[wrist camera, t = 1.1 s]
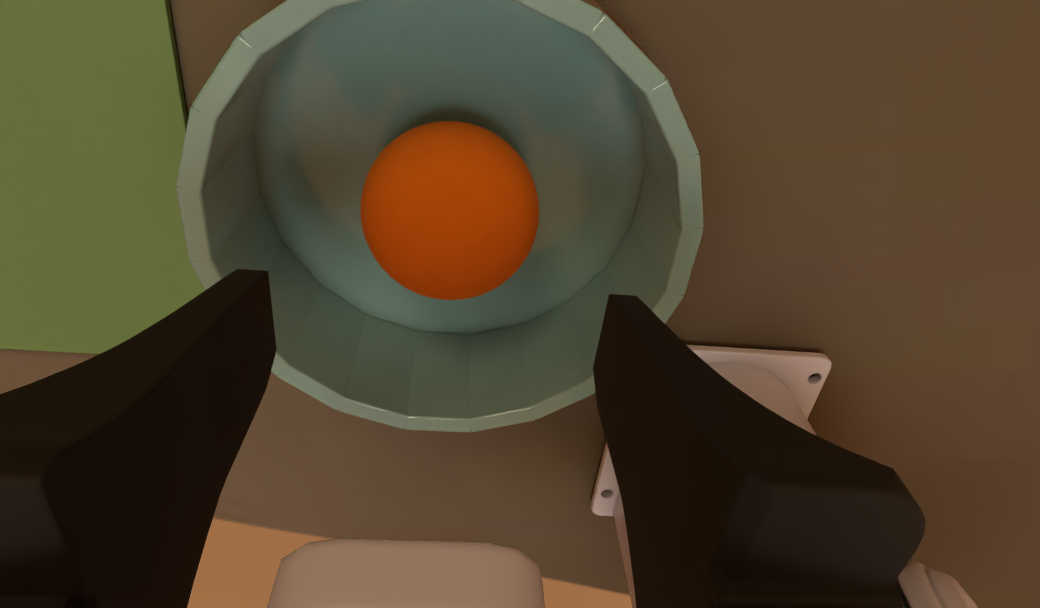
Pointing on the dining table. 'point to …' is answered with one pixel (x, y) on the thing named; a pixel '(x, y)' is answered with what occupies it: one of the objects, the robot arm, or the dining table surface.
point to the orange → (449, 210)
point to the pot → (381, 119)
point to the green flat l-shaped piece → (89, 173)
